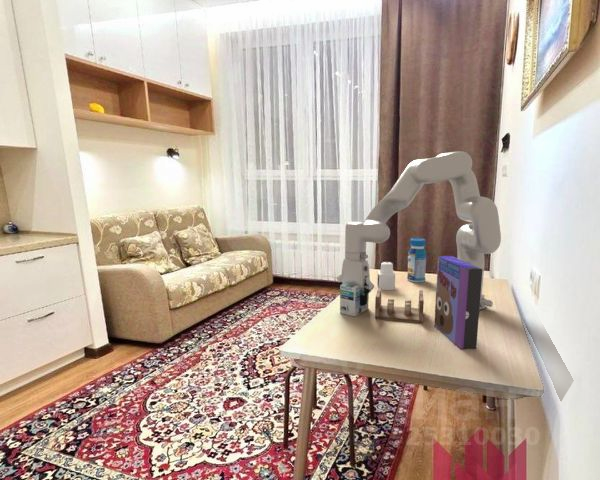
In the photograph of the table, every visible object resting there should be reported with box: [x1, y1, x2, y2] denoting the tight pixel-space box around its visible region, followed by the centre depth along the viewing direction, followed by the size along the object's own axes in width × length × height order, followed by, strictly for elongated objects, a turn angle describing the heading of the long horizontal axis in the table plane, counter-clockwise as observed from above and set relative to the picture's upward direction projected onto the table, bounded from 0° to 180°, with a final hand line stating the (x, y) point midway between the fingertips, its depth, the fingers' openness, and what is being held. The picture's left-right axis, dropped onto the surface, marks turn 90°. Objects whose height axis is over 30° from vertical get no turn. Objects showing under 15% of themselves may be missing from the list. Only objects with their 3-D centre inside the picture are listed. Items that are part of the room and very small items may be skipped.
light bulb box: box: [339, 283, 370, 318], centre depth 140 cm, size 11×7×11 cm, turn 143°
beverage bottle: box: [406, 237, 427, 283], centre depth 180 cm, size 8×8×20 cm
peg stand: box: [374, 286, 425, 324], centre depth 136 cm, size 12×16×8 cm
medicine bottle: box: [377, 260, 396, 291], centre depth 169 cm, size 7×7×12 cm
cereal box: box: [433, 255, 483, 350], centre depth 116 cm, size 17×5×24 cm, turn 5°
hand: (354, 302), depth 141 cm, fingers open, 7 cm apart
